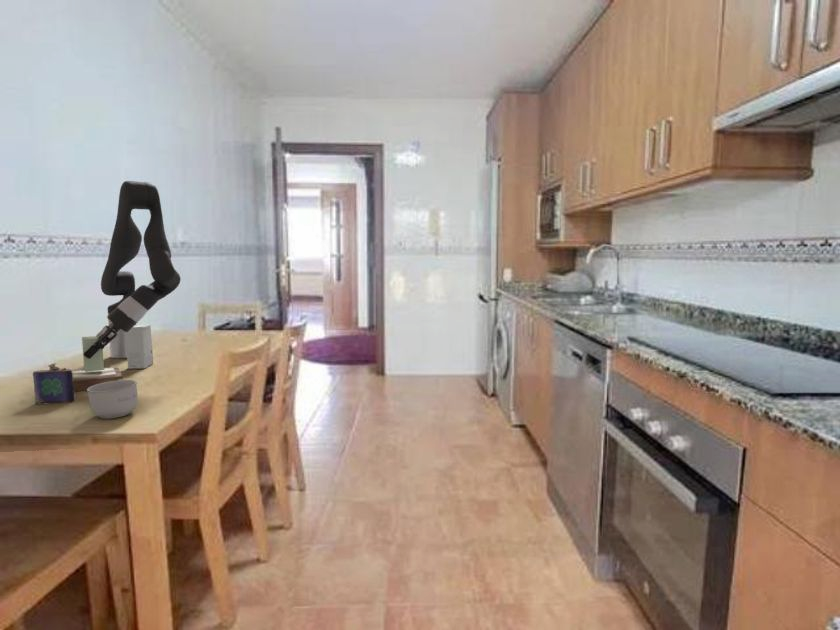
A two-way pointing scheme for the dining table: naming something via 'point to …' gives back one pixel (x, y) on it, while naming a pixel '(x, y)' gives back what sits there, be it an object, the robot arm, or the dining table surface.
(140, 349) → the skincare box
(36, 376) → the flask
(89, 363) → the green block
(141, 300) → the robot arm
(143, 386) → the dining table surface
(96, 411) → the teacup
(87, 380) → the base block
